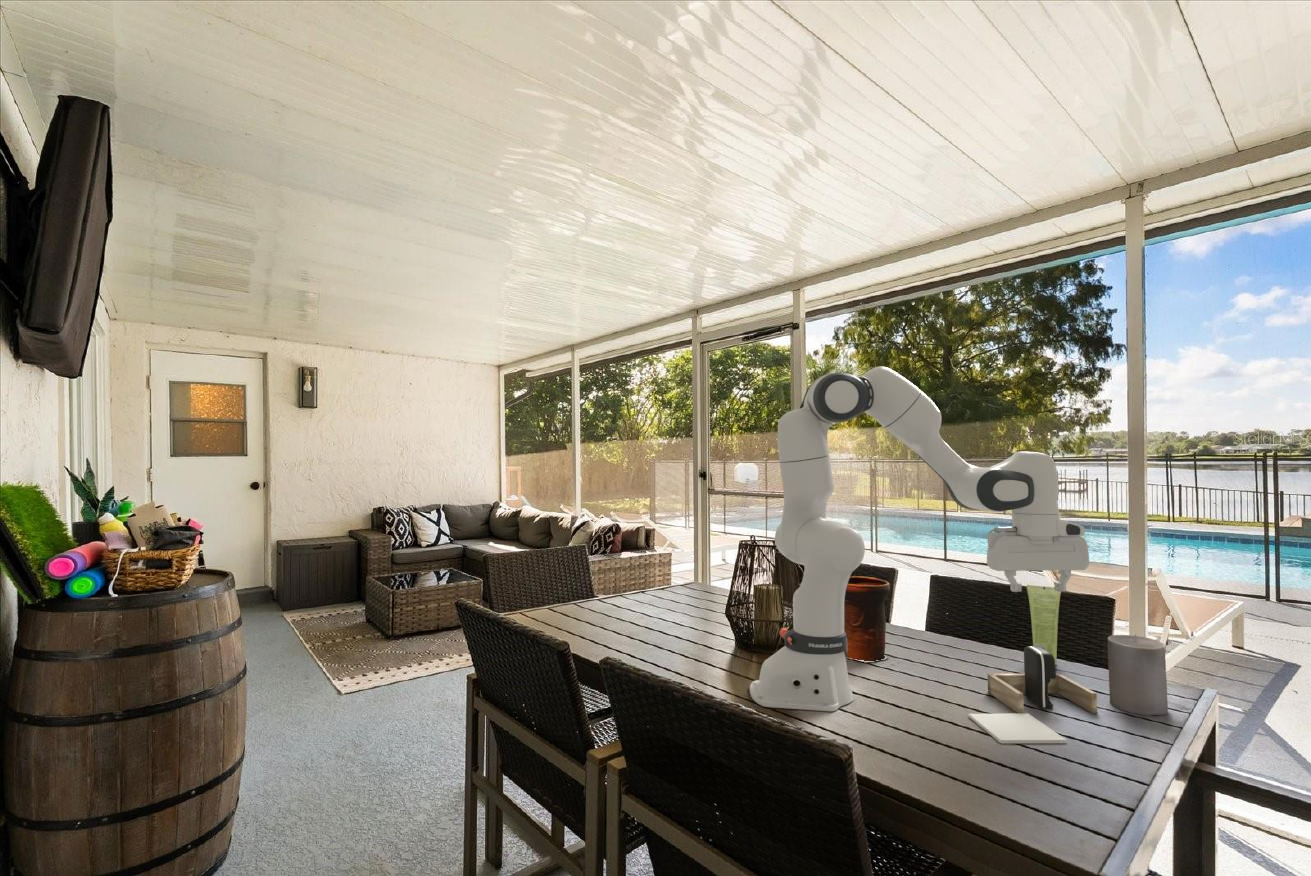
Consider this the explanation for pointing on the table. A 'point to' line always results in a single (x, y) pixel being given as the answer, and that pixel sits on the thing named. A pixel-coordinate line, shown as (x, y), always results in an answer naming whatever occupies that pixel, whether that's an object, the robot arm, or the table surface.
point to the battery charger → (1038, 675)
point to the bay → (1013, 688)
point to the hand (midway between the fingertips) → (1038, 591)
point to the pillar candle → (1137, 674)
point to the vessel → (865, 618)
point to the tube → (1044, 617)
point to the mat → (1016, 728)
